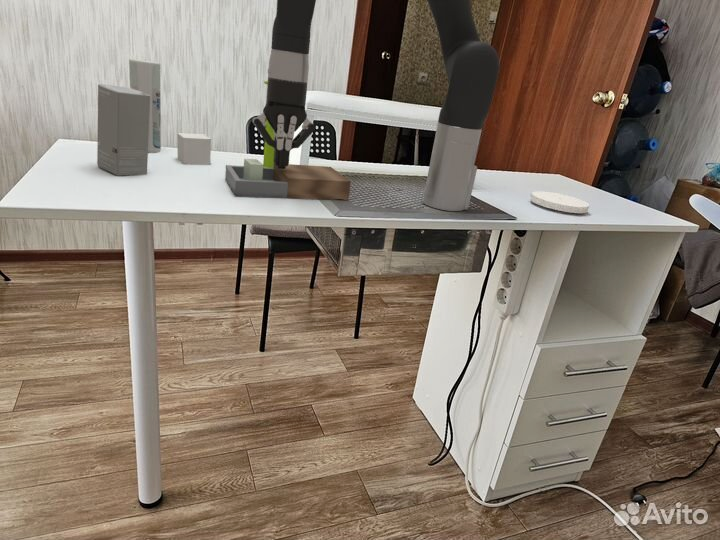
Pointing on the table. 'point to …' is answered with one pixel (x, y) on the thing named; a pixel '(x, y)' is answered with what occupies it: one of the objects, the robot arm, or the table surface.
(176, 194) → the table surface
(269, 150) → the soap dispenser
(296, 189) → the brown flat square block
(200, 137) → the white cube
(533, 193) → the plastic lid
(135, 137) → the skincare box
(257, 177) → the tile
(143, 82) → the spray can
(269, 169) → the box
